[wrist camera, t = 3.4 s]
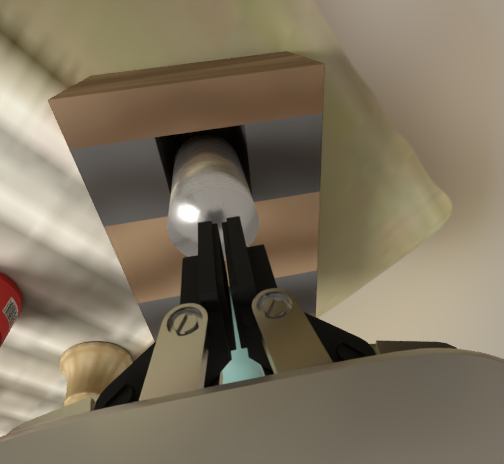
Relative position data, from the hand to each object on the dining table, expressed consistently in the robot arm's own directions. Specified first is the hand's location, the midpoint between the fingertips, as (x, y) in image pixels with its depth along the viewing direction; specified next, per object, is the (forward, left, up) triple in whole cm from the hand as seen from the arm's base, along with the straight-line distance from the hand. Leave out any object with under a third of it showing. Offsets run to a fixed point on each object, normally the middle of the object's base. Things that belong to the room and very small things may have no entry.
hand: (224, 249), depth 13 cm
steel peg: (0, 0, -10) cm, 9 cm away
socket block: (+6, 0, -16) cm, 17 cm away
